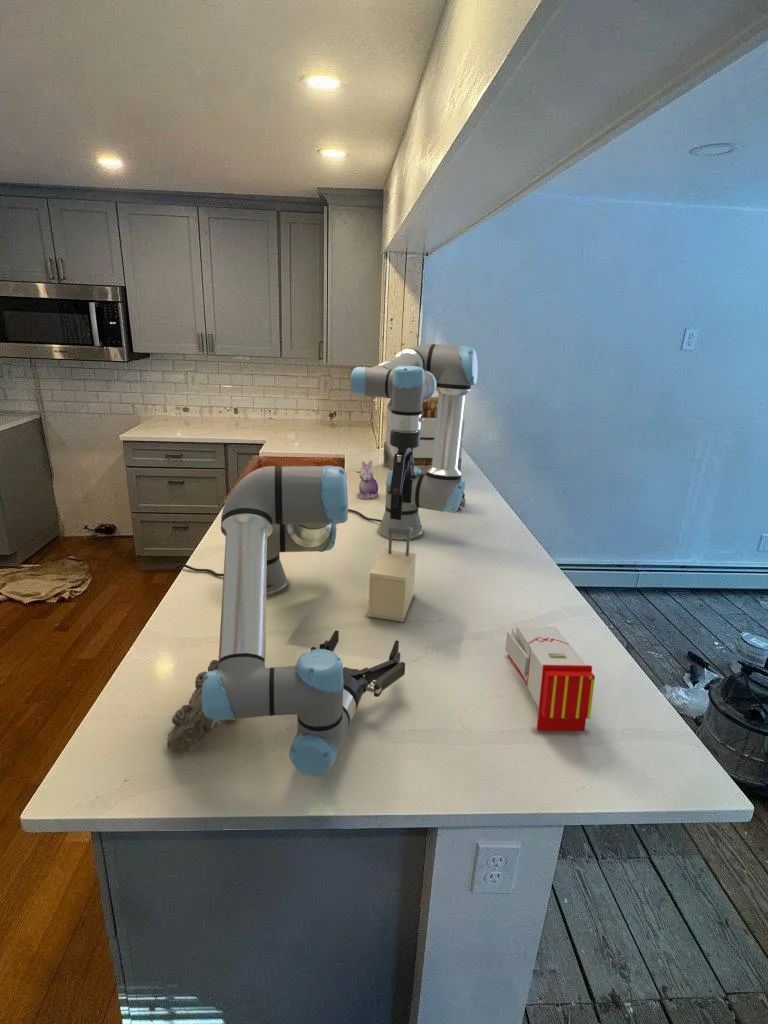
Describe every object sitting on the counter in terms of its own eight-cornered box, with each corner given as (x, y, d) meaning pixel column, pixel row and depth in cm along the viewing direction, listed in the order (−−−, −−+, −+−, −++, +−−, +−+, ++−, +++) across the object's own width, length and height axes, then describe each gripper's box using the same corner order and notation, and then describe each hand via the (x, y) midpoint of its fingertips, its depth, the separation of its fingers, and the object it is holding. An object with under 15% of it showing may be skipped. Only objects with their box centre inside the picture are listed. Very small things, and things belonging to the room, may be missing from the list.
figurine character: (465, 515, 224) (460, 499, 237) (467, 498, 221) (462, 483, 234) (448, 515, 224) (444, 499, 237) (450, 498, 220) (445, 482, 234)
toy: (551, 610, 133) (604, 672, 104) (546, 663, 136) (596, 738, 106) (500, 609, 132) (538, 671, 103) (496, 662, 135) (532, 737, 106)
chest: (381, 591, 159) (382, 554, 155) (413, 595, 157) (415, 559, 154) (368, 616, 146) (369, 577, 142) (403, 621, 144) (405, 582, 140)
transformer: (382, 463, 289) (386, 382, 275) (445, 464, 293) (451, 384, 279) (390, 482, 257) (394, 392, 243) (460, 483, 261) (468, 394, 247)
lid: (383, 553, 156) (385, 522, 153) (416, 557, 154) (418, 526, 151) (369, 577, 142) (371, 544, 139) (405, 582, 140) (407, 548, 137)
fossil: (192, 660, 117) (244, 628, 112) (224, 691, 120) (276, 661, 115) (142, 746, 98) (202, 712, 93) (182, 779, 101) (242, 748, 96)
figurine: (363, 500, 232) (364, 465, 227) (352, 493, 240) (353, 459, 235) (383, 498, 236) (385, 463, 231) (372, 491, 244) (373, 457, 239)
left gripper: (274, 705, 109) (312, 646, 128) (402, 731, 104) (421, 664, 123) (273, 672, 106) (312, 617, 126) (404, 697, 101) (423, 635, 121)
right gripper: (411, 442, 129) (406, 528, 136) (428, 422, 152) (422, 497, 159) (379, 439, 131) (375, 524, 138) (400, 420, 153) (396, 494, 161)
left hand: (366, 640), depth 124 cm, fingers open, 13 cm apart
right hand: (401, 510), depth 148 cm, fingers open, 13 cm apart
